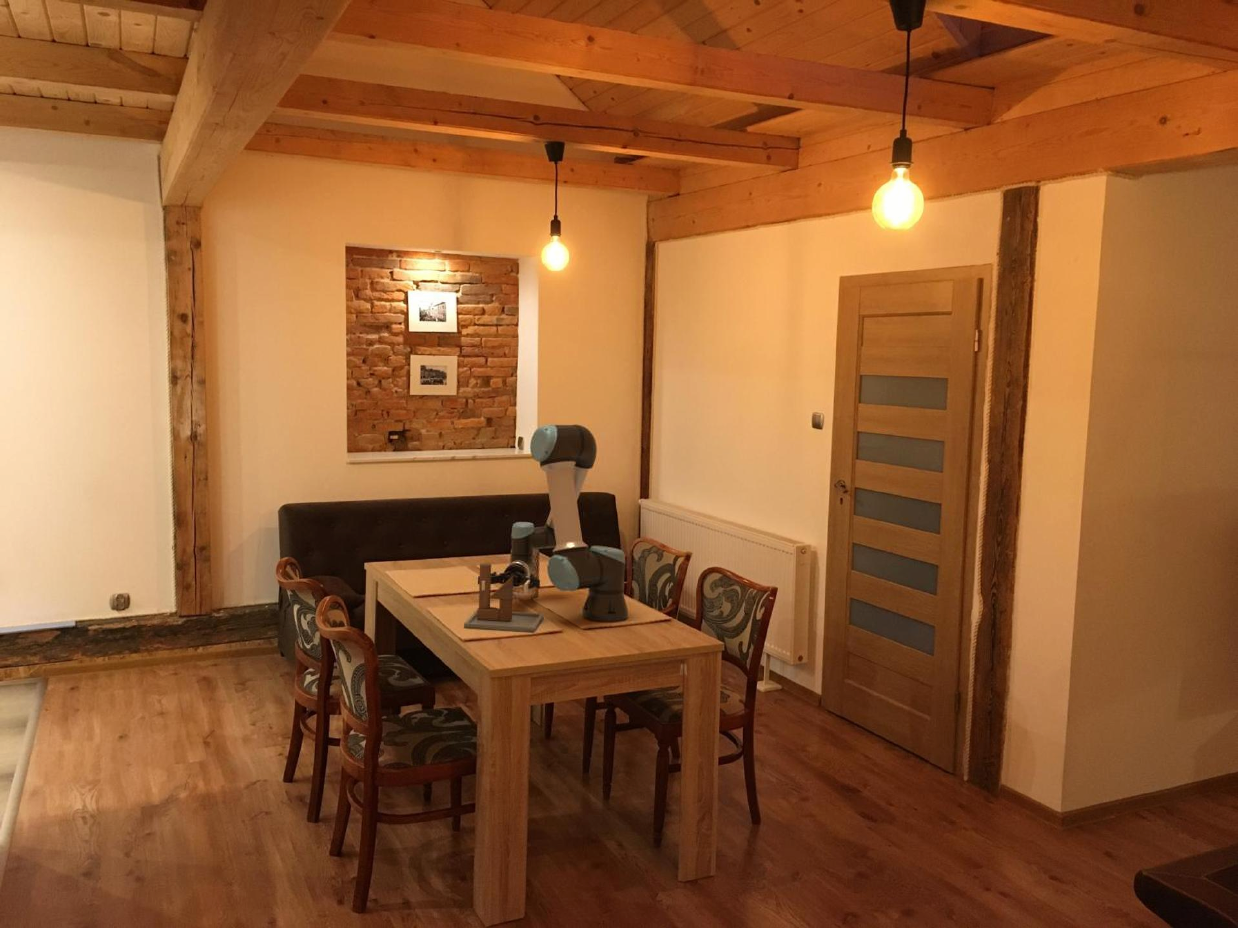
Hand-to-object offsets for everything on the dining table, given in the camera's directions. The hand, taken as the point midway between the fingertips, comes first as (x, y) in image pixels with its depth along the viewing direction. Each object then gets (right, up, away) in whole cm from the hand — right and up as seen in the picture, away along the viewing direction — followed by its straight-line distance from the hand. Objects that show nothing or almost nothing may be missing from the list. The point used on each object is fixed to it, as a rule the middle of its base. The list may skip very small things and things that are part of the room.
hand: (504, 587), depth 335 cm
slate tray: (0, -12, +3) cm, 12 cm away
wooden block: (-4, -11, +5) cm, 13 cm away
